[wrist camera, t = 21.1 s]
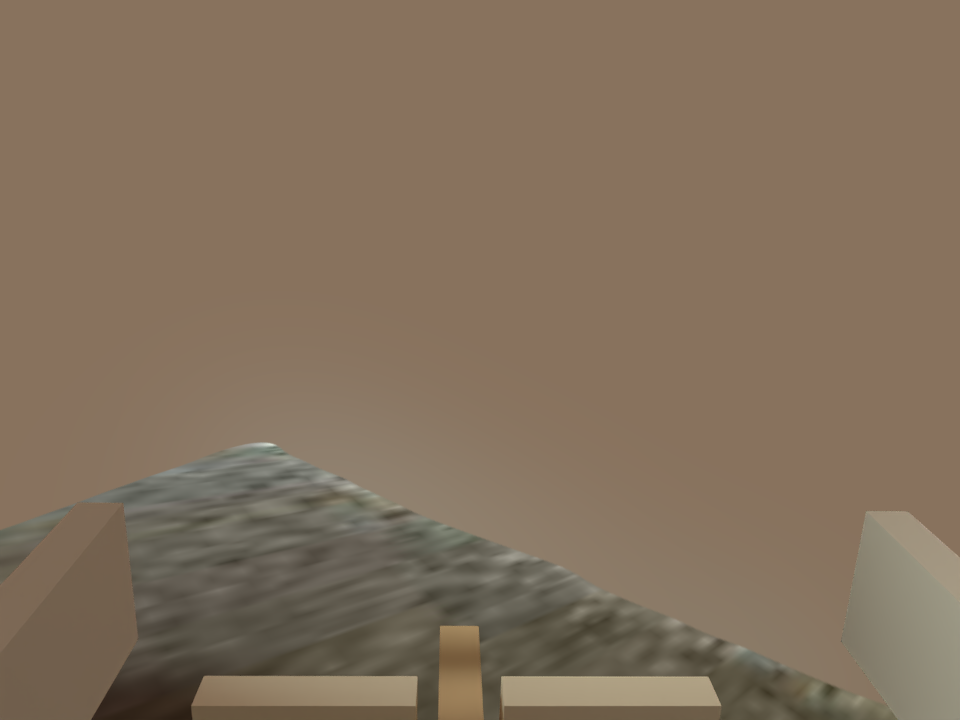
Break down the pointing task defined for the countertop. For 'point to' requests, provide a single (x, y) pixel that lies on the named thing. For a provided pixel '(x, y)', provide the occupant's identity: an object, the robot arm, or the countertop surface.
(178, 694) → the countertop surface
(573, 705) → the cream board
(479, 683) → the brown angled piece
